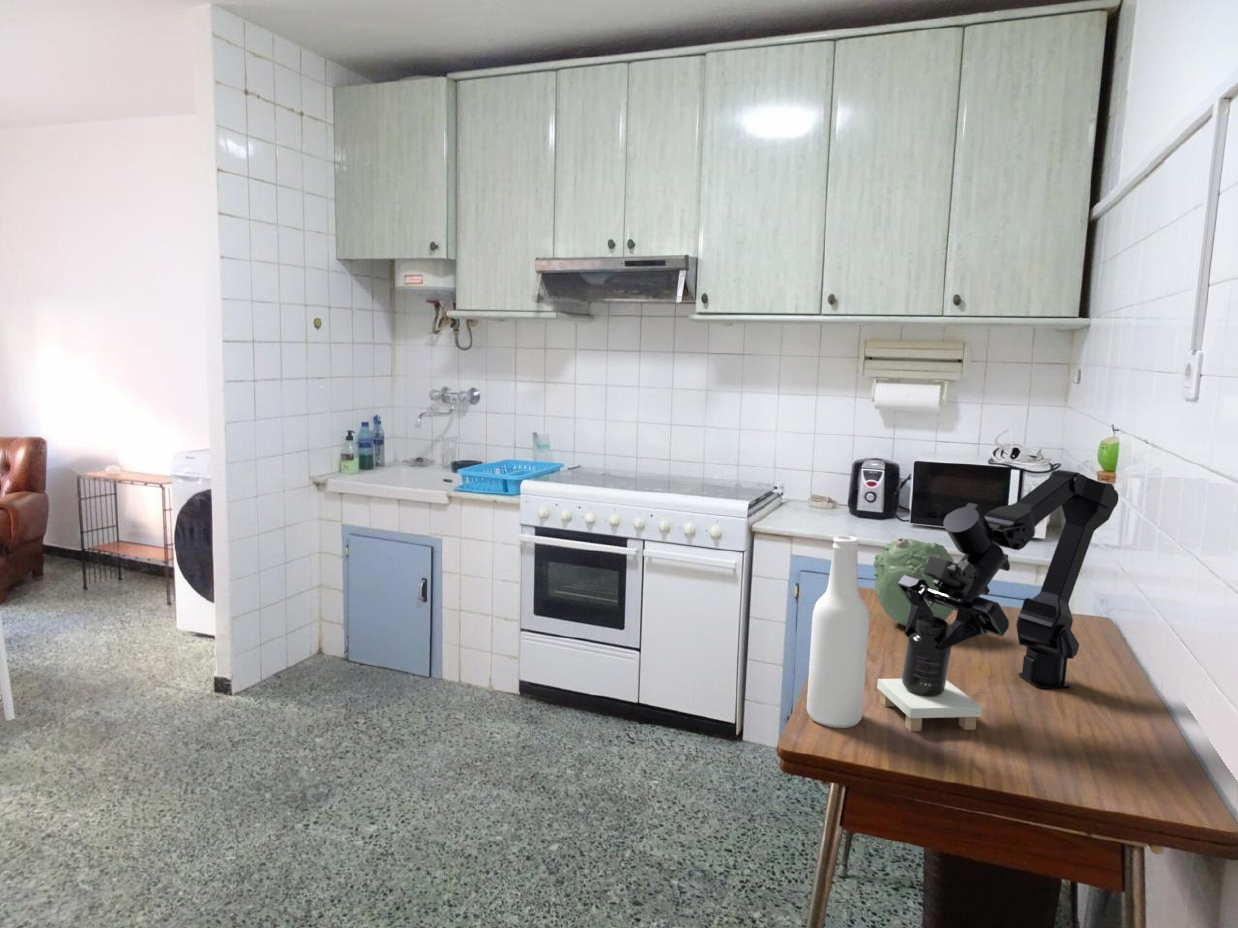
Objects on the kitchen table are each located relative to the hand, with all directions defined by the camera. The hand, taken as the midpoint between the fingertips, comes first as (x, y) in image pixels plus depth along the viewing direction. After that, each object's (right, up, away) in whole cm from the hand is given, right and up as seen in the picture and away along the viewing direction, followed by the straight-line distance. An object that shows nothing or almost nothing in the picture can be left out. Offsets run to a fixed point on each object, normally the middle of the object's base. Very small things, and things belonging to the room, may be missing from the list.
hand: (922, 641), depth 134 cm
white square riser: (+1, -13, +2) cm, 13 cm away
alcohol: (-14, -13, 0) cm, 19 cm away
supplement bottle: (+1, -8, +3) cm, 9 cm away
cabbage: (+16, -7, +49) cm, 52 cm away
